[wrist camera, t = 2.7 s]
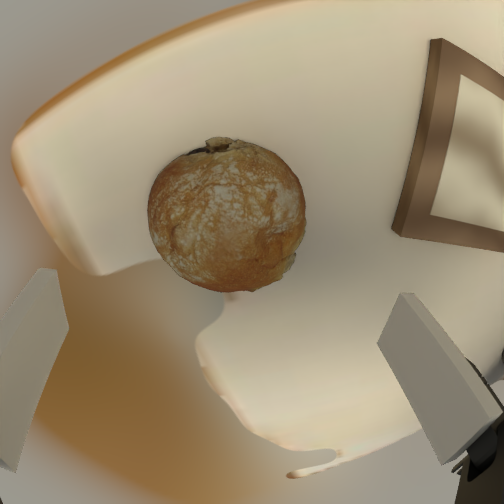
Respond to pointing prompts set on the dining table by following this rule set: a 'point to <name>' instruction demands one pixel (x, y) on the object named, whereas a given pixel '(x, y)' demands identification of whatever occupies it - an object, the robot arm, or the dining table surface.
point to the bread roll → (227, 216)
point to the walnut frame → (456, 155)
